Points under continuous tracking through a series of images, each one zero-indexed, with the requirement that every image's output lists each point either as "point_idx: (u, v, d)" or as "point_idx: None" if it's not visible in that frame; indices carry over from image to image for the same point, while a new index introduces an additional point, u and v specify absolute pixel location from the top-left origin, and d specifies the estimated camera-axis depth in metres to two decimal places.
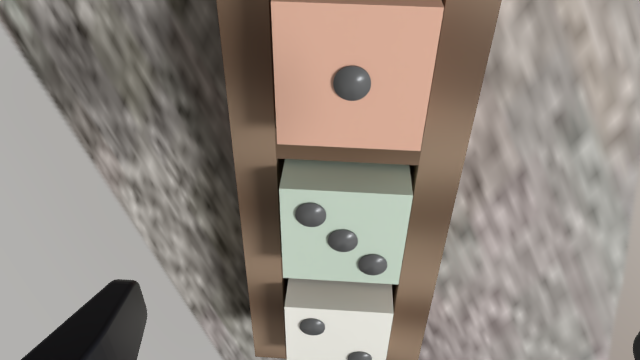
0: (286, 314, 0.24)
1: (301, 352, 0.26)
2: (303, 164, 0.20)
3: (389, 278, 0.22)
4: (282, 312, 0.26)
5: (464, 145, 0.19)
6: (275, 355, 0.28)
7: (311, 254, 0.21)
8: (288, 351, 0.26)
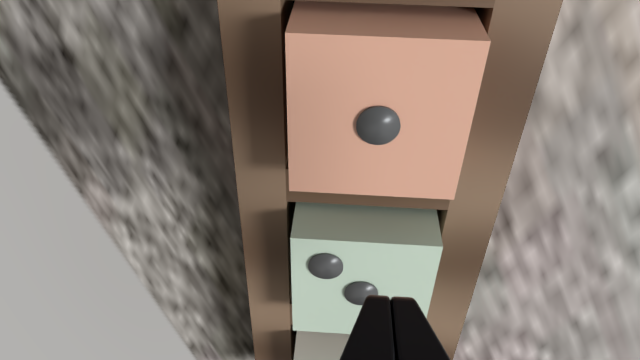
0: None
1: None
2: (317, 207, 0.18)
3: None
4: None
5: (501, 189, 0.17)
6: None
7: (324, 306, 0.19)
8: None
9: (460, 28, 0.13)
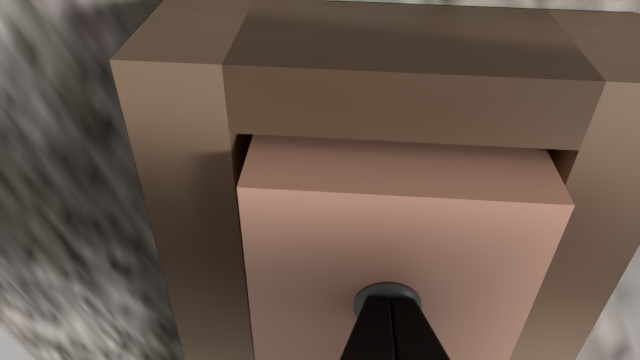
0: None
1: None
2: None
3: None
4: None
5: None
6: None
7: None
8: None
9: (519, 173, 0.08)
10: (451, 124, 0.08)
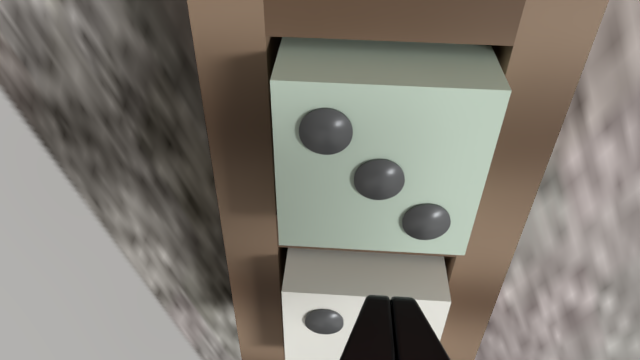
0: (284, 303, 0.15)
1: (307, 358, 0.17)
2: (312, 48, 0.12)
3: (451, 245, 0.13)
4: (279, 299, 0.18)
5: (602, 2, 0.11)
6: (270, 359, 0.20)
7: (324, 204, 0.13)
8: (288, 357, 0.17)
9: None
10: None
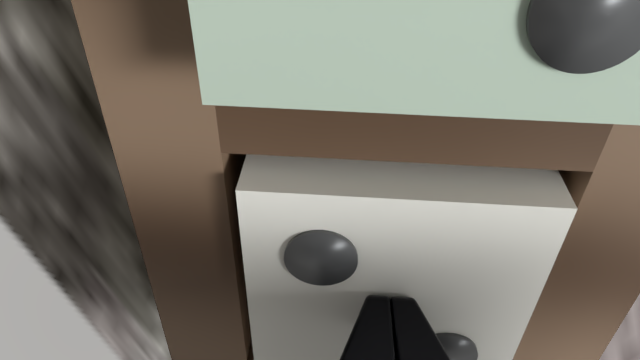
0: (243, 217, 0.08)
1: (290, 335, 0.10)
2: None
3: None
4: (233, 272, 0.10)
5: None
6: None
7: None
8: (256, 333, 0.10)
9: None
10: None
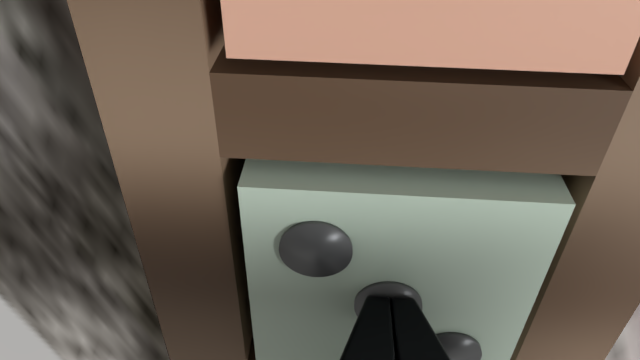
0: None
1: None
2: None
3: None
4: None
5: None
6: None
7: (315, 330, 0.10)
8: None
9: None
10: None
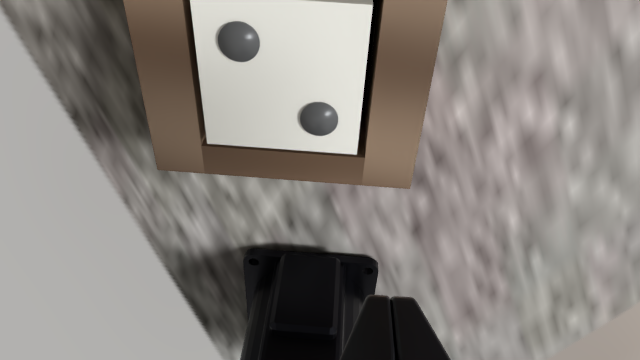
0: (194, 12, 0.14)
1: (226, 105, 0.16)
2: None
3: None
4: (189, 68, 0.16)
5: None
6: (188, 166, 0.18)
7: None
8: (205, 105, 0.16)
9: None
10: None
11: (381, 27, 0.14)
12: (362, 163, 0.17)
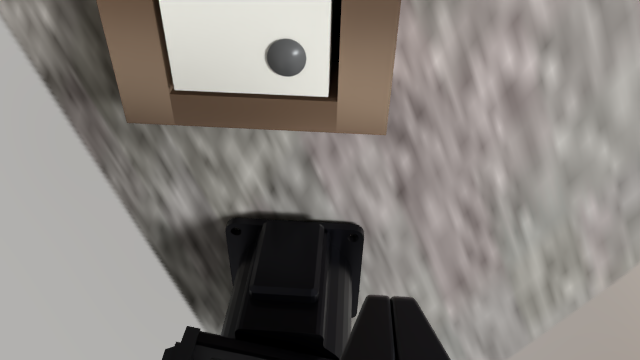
0: None
1: (191, 46, 0.16)
2: None
3: None
4: (151, 7, 0.15)
5: None
6: (158, 117, 0.18)
7: None
8: (170, 46, 0.16)
9: None
10: None
11: None
12: (335, 108, 0.17)
